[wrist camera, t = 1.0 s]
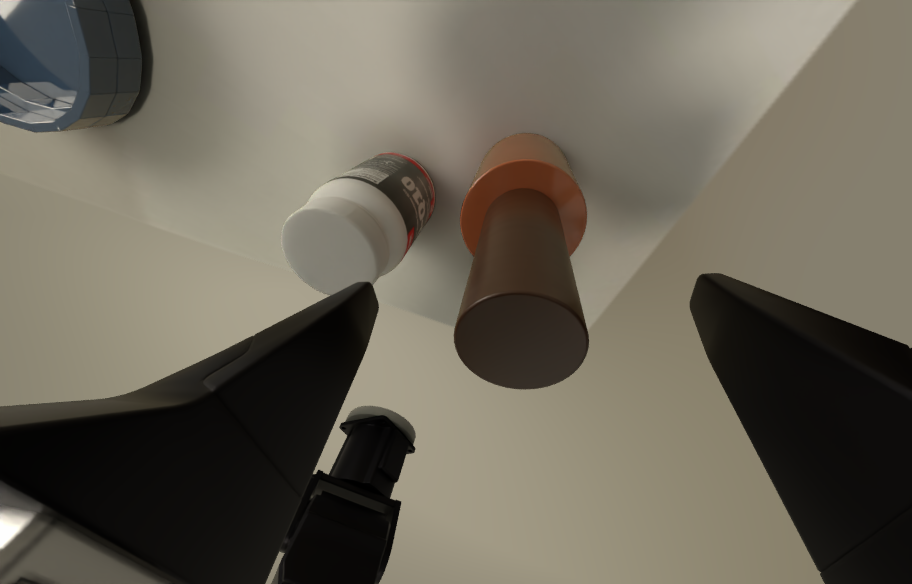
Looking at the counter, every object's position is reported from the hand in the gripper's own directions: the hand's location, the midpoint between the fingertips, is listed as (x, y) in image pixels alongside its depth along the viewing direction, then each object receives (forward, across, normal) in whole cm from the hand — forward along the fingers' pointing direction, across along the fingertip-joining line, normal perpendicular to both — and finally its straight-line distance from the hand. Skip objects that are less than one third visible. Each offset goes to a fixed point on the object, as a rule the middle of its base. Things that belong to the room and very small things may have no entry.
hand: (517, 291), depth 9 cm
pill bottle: (+11, +7, 0) cm, 13 cm away
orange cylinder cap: (+11, 0, 0) cm, 11 cm away
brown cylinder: (+1, 0, 0) cm, 1 cm away
